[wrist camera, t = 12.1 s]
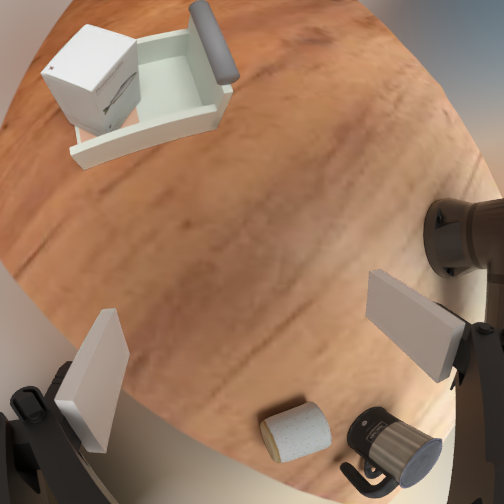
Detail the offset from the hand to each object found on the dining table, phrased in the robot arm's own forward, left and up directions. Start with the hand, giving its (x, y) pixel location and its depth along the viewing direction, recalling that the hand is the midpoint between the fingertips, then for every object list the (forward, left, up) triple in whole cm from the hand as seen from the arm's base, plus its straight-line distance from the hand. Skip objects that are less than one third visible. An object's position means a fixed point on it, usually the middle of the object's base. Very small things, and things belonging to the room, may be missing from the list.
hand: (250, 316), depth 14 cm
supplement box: (+5, -25, -21) cm, 33 cm away
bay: (+1, -25, -22) cm, 33 cm away
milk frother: (-17, +39, -22) cm, 48 cm away
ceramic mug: (-4, +25, -22) cm, 34 cm away
